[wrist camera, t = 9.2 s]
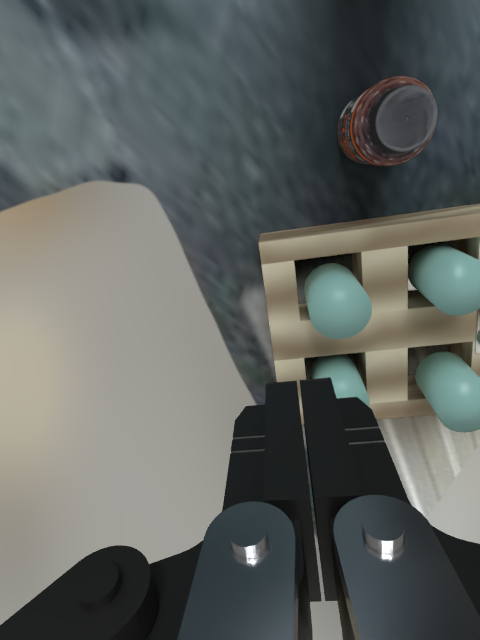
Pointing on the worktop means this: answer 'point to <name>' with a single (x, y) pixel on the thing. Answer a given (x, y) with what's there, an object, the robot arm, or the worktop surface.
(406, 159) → the supplement bottle
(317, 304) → the button
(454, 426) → the button
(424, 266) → the button
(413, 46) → the worktop surface
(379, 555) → the robot arm
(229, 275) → the worktop surface
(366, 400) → the button
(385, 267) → the console
